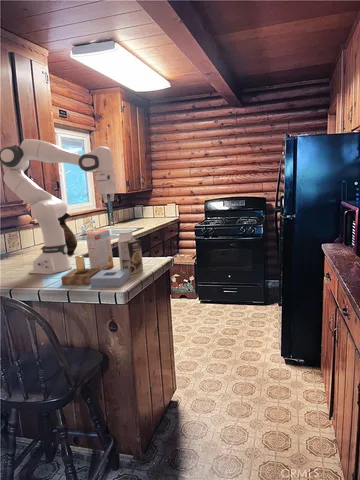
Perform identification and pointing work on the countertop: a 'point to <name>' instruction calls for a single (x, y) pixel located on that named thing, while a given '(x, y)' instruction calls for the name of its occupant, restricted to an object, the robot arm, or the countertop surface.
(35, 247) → the countertop surface
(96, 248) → the cracker box
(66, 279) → the block
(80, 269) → the brass peg
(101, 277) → the socket block
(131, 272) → the coffee box
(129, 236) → the milk carton
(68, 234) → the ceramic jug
